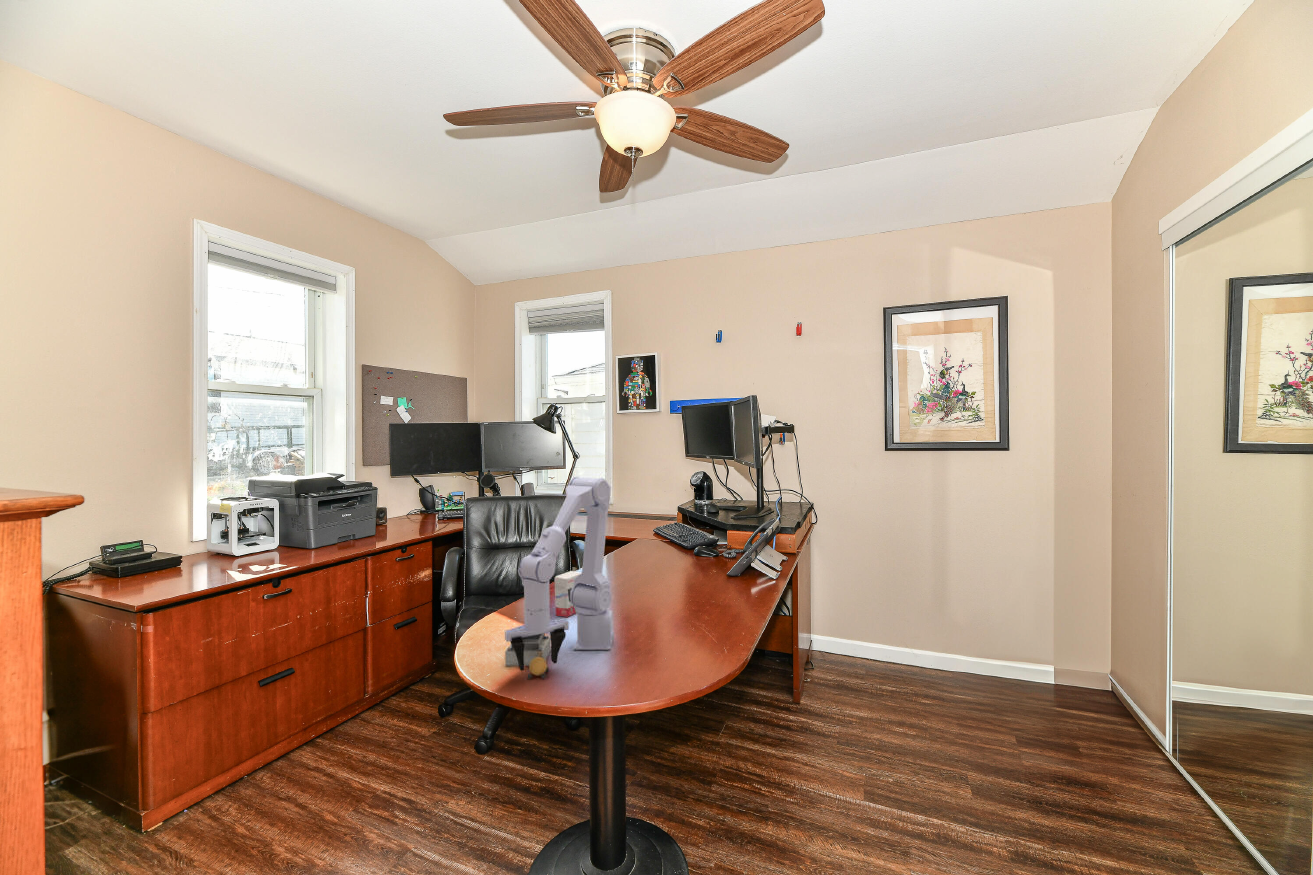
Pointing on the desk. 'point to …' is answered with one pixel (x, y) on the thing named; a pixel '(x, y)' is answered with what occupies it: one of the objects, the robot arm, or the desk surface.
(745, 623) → the desk surface
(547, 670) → the cradle
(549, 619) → the robot arm
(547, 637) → the silver open square box
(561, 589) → the ink box
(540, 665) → the ball
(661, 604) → the desk surface
